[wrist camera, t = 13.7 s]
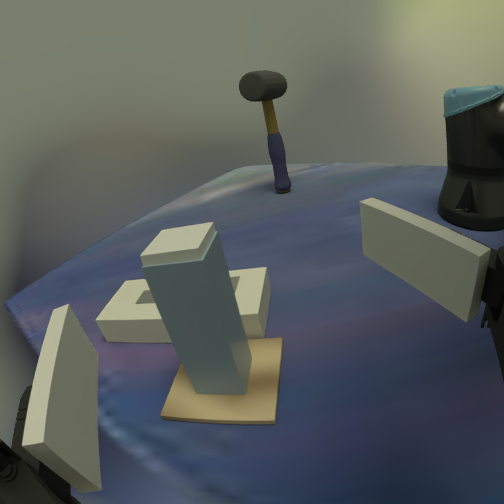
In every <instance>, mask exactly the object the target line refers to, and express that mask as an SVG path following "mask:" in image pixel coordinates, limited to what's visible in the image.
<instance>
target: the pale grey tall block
mask: <svg viewBox="0 0 504 504" xmlns="http://www.w3.org/2000/svg"><path fill="white" fill-rule="evenodd" d="M140 257H141V260H142V262H143V266H142V267H141V268H142V271H143V274H144V276H145V279H146V281H147V284H148V286H149V289H150V291H151V294H152V296H153V299H154V301H155V304H156V306H157V309H158V311H159V313H160V316H161V318H162V320H163V323H164V325H165V327H166V330H167V332H168V334H169V336H170V339H171V341H172V343H173V345H174V347H175V350H176V352H177V354H178V356H179V358H180V360H181V362H182V365H183V367H184V369H185V371H186V373H187V375H188V377H189V379H190V381H191V383H192V385H193V387H194V389H195V391H196V393H197V394H206V395H246V392H247V386H248V380H249V375H250V369H251V363H252V355H251V352H250V348H249V345H248V341H247V337H246V334H245V330H244V327H243V323H242V319H241V316H240V312H239V308H238V305H237V301H236V297H235V293H234V290H233V286H232V282H231V278H230V275H229V271H228V267H227V263H226V259H225V255H224V252H223V248H222V244H221V240H220V236H219V232H218V231H215V227H214V223H213V222H211V223H204V224H198V225H191V226H185V227H179V228H172V229H166V230H162V231H161V232H160V233H159V234H158V235H157V237H156V238H155V239H154V240H153V241H152V242H151V244H150V245H149V246H148V247H147V248H146V249H145V251H144V252H143V253H142V254H141V255H140Z"/></svg>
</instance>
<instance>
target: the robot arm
mask: <svg viewBox="0 0 504 504" xmlns="http://www.w3.org/2000/svg"><path fill="white" fill-rule="evenodd" d="M444 117H445V120H446V137H447V160H448V161H447V164H448V169H447V174H446V177H445V181H444V184H443V187H442V190H441V193H440V196H439V206H438V211H439V214H440V215H441V216H442V217H443V218H444V219H445V220H447V221H449V222H451V223H453V224H455V225H458V226H461V227H465V228H469V229H475V230H498V229H502V228H504V88H503V86H502V85H492V86H475V87H464V88H453V89H449V90H447V91H446V92H445V94H444ZM360 211H361V225H362V242H363V255H365V256H366V257H368V258H369V259H371V260H373V261H374V262H376V263H377V264H379V265H381V266H382V267H384V268H385V269H387V270H388V271H390V272H392V273H393V274H395V275H396V276H398V277H399V278H401V279H402V280H404V281H405V282H407V283H409V284H410V285H412V286H413V287H415V288H416V289H418V290H419V291H421V292H422V293H424V294H425V295H427V296H428V297H430V298H431V299H433V300H434V301H436V302H437V303H439V304H440V305H441V306H443V307H444V308H446V309H447V310H449V311H450V312H452V313H453V314H455V315H456V316H457V317H459V318H460V319H462V320H463V321H465V322H466V323H467V322H468V321H469V320H471V319H472V318H473V317H474V316H475V315H477V314H478V310H479V306H480V302H481V300H482V301H484V302H485V303H486V307H485V311H484V315H483V318H482V322H481V328H484V324H485V321H487V320H488V325H487V328H490V329H491V333H492V336H493V340H494V343H495V347H496V351H497V355H498V359H499V363H500V367H501V371H502V376H503V381H504V246H502V247H500V248H499V249H498V251H496V250H494V249H492V248H490V247H488V246H486V245H484V244H482V243H480V242H478V241H476V240H474V239H470V238H469V237H467V236H465V235H462V234H461V233H458V232H456V231H454V230H452V229H448V228H445V227H443V226H441V225H439V224H436V223H434V222H432V221H429V220H427V219H425V218H422V217H420V216H418V215H415V214H413V213H410V212H408V211H405V210H403V209H401V208H398V207H396V206H393V205H390V204H388V203H385V202H383V201H380V200H378V199H375V198H369V199H366V200H363V201H360ZM98 358H99V355H98V353H97V352H96V350H95V348H94V347H93V345H92V344H91V342H90V340H89V339H88V337H87V335H86V334H85V332H84V330H83V329H82V327H81V325H80V323H79V322H78V320H77V318H76V316H75V314H74V313H73V311H72V309H71V307H70V305H69V304H68V305H65V306H62V307H59V308H57V309H54V310H53V313H52V316H51V319H50V322H49V325H48V329H47V332H46V335H45V339H44V342H43V346H42V349H41V353H40V357H39V361H38V365H37V369H36V373H35V377H34V381H33V385H32V386H28V387H27V388H26V390H25V392H24V393H23V395H22V397H21V399H20V404H19V409H18V411H19V412H18V413H17V418H16V420H17V422H16V423H15V429H14V434H13V441H12V447H11V448H10V447H9V446H7V445H6V444H5V443H4V442H3V441H2V440H1V439H0V504H81V503H80V502H79V501H78V500H77V499H76V498H74V497H73V496H71V493H70V485H71V486H72V487H74V488H75V489H77V490H78V491H80V492H81V493H85V492H91V491H99V490H102V487H101V477H100V464H99V450H98V449H99V448H98V420H97V387H98Z"/></svg>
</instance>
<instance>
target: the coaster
mask: <svg viewBox="0 0 504 504" xmlns="http://www.w3.org/2000/svg"><path fill="white" fill-rule="evenodd" d="M247 341H248V345H249V348H250V352H251V355H252V363H251V369H250V375H249V380H248V386H247V392H246V395H206V394H197V393H196V391H195V389H194V387H193V385H192V383H191V381H190V379H189V377H188V375H187V373H186V371H185V369H184V367H183V365H182V362H181V364H180V367H179V369H178V372H177V374H176V377H175V379H174V382H173V384H172V387H171V389H170V392H169V395H168V397H167V400H166V402H165V405H164V407H163V410H162V412H161V415H160V416H161V417H162V419H165V420H175V421H186V422H199V423H217V424H276V415H277V405H278V394H279V384H280V373H281V361H282V349H283V338H282V337H281V338H267V339H250V340H247Z"/></svg>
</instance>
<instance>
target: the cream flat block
mask: <svg viewBox="0 0 504 504" xmlns="http://www.w3.org/2000/svg"><path fill="white" fill-rule="evenodd" d="M229 275H230V278H231V282H232V286H233V290H234V293H235V297H236V301H237V305H238V308H239V312H240V316H241V319H242V323H243V327H244V330H245V334H246V337H247V340H250V339H264V337H265V331H266V324H267V317H268V310H269V303H270V296H271V288H270V283H269V278H268V273H267V268H266V267H263V268H253V269H244V270H234V271H229ZM96 322H97V324H98V326H99V328H100V330H101V332H102V333H103V335H104V337H105V339H106V341H107V342H131V343H172V341H171V339H170V336H169V334H168V332H167V330H166V327H165V325H164V323H163V320H162V318H161V316H160V313H159V311H158V309H157V306H156V304H155V301H154V299H153V296H152V294H151V291H150V289H149V286H148V284H147V281H146V279H141V280H130V281H125V283H124V284H123V285H122V286H121V288H120V289H119V290H118V291H117V293H116V294H115V295H114V296H113V298H112V299H111V300H110V302H109V303H108V304H107V305H106V307H105V308H104V309H103V311H102V312H101V313H100V315H99V316H98V317H97V319H96Z"/></svg>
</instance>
